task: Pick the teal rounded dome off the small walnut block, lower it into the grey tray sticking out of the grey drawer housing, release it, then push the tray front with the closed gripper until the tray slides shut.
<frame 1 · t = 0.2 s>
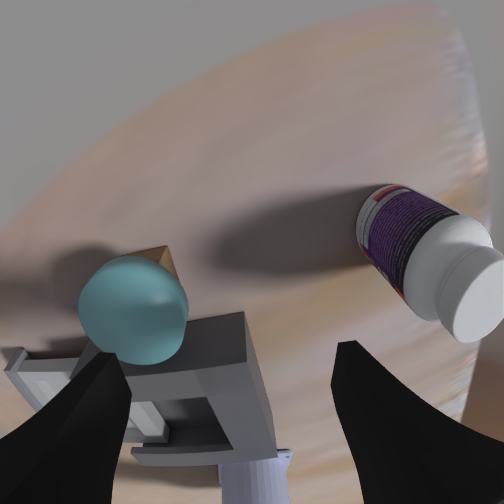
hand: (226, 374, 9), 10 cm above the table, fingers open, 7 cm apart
teal rounded dome: (137, 303, 16), point 3 cm above the table, touching stand
stand: (151, 273, 19), on the table
grey drawer housing: (178, 383, 23), on the table
tray: (87, 403, 21), point 2 cm above the table, slide at 8.0 cm
pill bottle: (390, 222, 19), on the table
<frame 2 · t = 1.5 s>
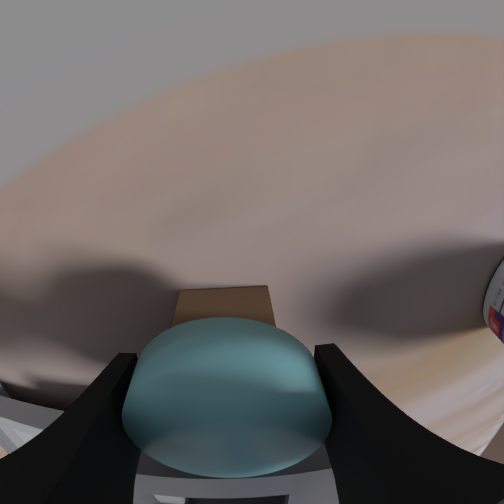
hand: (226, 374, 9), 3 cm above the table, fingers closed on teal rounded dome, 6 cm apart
teal rounded dome: (226, 390, 9), point 4 cm above the table, touching gripper, stand
stand: (227, 323, 12), on the table
grey drawer housing: (215, 449, 16), on the table
tray: (84, 461, 14), point 2 cm above the table, slide at 8.0 cm
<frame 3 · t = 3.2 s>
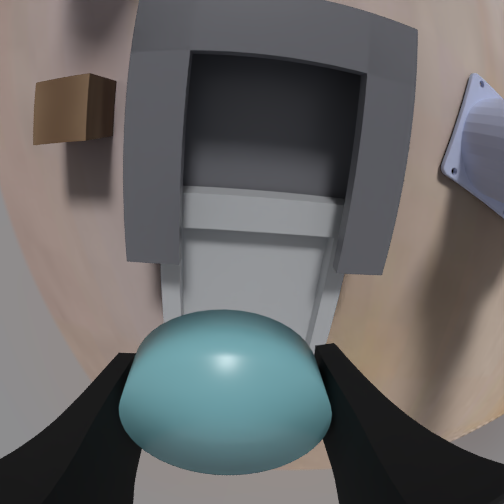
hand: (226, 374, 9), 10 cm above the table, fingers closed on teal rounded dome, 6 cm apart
teal rounded dome: (225, 385, 9), point 10 cm above the table, touching gripper
stand: (89, 110, 14), on the table
grey drawer housing: (262, 140, 16), on the table
tray: (250, 298, 17), point 2 cm above the table, slide at 8.0 cm
when the fingers open (3 cm above the table, at t = 5.2 s): teal rounded dome drops 2 cm, resting on tray.
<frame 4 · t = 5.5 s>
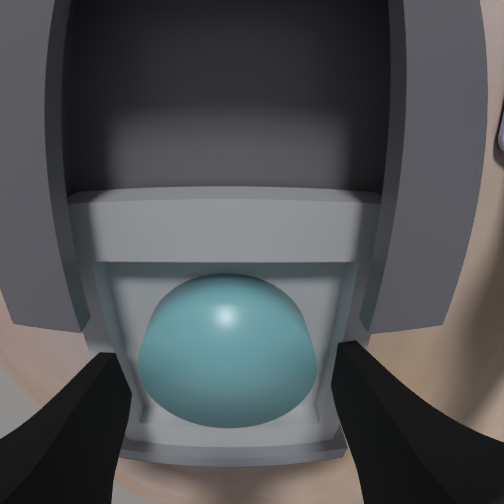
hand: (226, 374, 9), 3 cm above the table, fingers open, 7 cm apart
teal rounded dome: (227, 343, 11), point 2 cm above the table, touching tray
grey drawer housing: (226, 104, 9), on the table
tray: (226, 359, 11), point 2 cm above the table, slide at 8.0 cm, touching teal rounded dome
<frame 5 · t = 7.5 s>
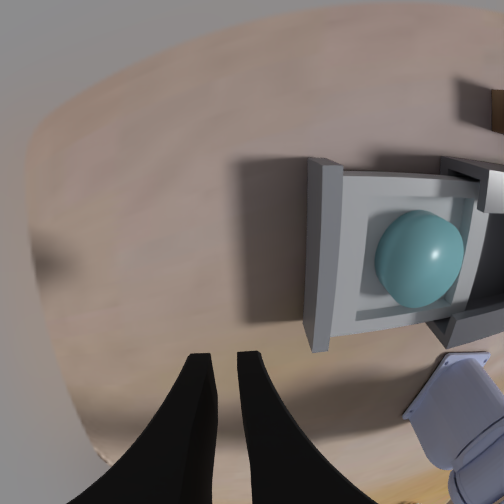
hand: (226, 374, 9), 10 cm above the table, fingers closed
teal rounded dome: (413, 253, 17), point 2 cm above the table, touching tray
grey drawer housing: (479, 237, 19), on the table
tray: (406, 254, 17), point 2 cm above the table, slide at 8.0 cm, touching teal rounded dome
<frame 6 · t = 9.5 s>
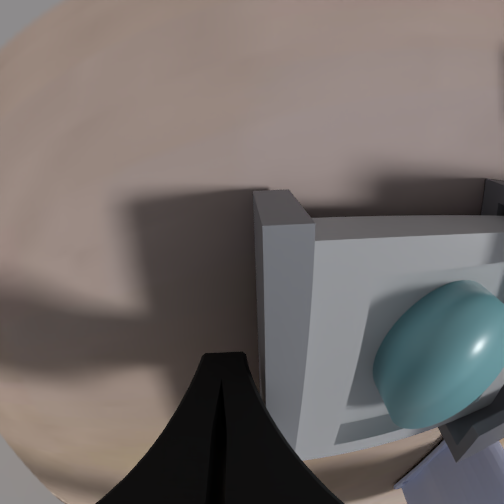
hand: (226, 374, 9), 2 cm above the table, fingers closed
teal rounded dome: (438, 345, 10), point 2 cm above the table, touching tray
tray: (426, 349, 9), point 2 cm above the table, slide at 7.6 cm, touching teal rounded dome, gripper
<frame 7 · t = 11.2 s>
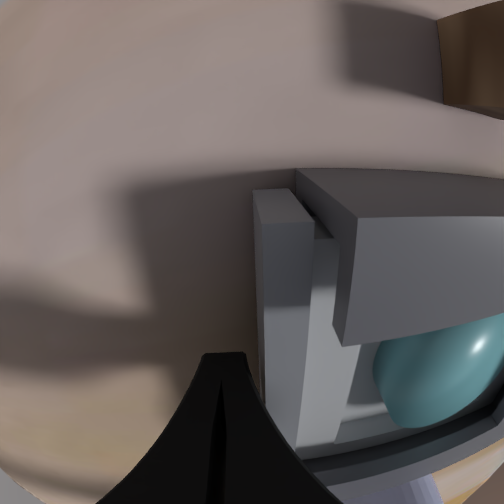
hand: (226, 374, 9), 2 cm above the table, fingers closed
teal rounded dome: (438, 344, 10), point 2 cm above the table, touching tray
stand: (473, 71, 7), on the table
grey drawer housing: (414, 317, 11), on the table
tray: (426, 348, 9), point 2 cm above the table, slide at 0.0 cm, touching teal rounded dome, gripper
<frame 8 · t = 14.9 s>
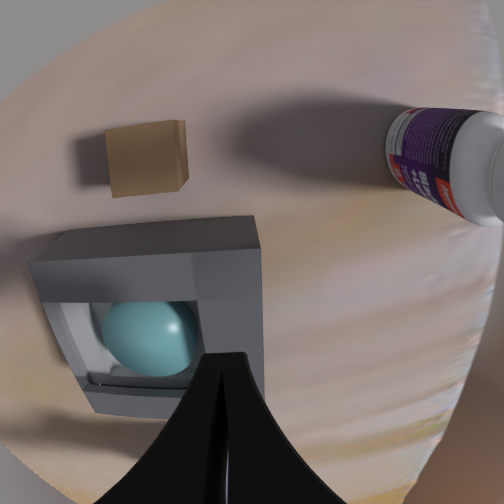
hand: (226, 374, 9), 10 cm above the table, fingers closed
teal rounded dome: (153, 324, 18), point 2 cm above the table, touching tray
stand: (158, 152, 16), on the table
grey drawer housing: (156, 308, 20), on the table
tray: (142, 325, 18), point 2 cm above the table, slide at 0.0 cm, touching teal rounded dome
pill bottle: (417, 149, 17), on the table
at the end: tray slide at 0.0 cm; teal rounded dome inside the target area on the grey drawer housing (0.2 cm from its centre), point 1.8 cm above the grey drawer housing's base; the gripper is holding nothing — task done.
